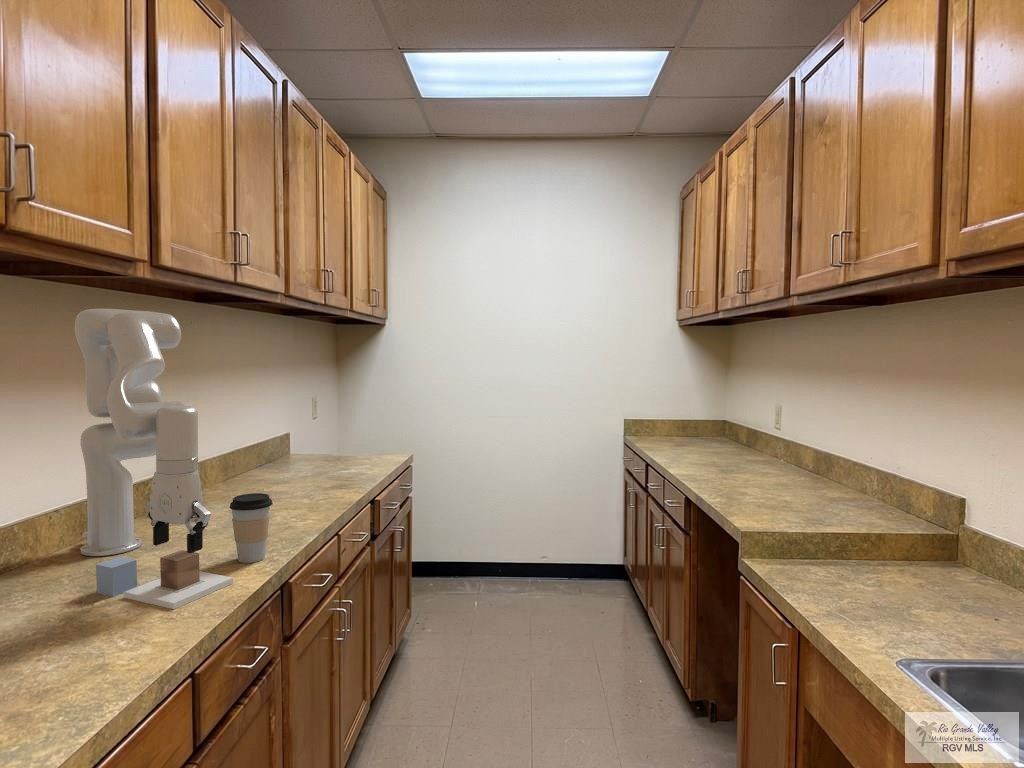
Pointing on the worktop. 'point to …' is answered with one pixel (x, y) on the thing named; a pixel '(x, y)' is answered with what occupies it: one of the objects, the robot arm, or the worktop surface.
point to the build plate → (177, 591)
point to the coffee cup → (251, 525)
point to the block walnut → (179, 569)
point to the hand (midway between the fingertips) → (177, 547)
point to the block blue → (116, 576)
